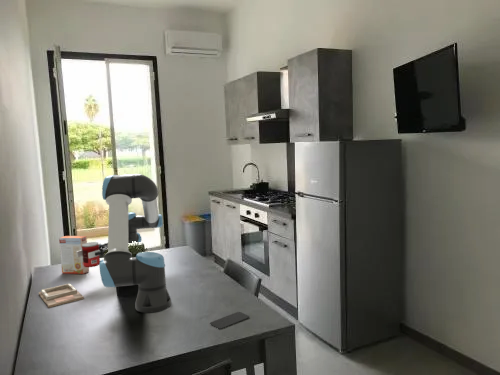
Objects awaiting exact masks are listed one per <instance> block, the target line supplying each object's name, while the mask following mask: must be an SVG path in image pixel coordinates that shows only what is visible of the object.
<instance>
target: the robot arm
mask: <svg viewBox="0 0 500 375" xmlns="http://www.w3.org/2000/svg"><path fill="white" fill-rule="evenodd" d="M101 189H102V191H101V196H102V199H103V200H104V201H105V203H106V204H107V205H108V228H107V229H108V231H107V232H108V233H107V236H108V237H107V242H106V243H104V244H101V243H98V244H99V250H96V251H93V252H90V253H88V258H89V259H90V258H93V257H96V256H103V259H100V263H99V265H98V267H99V273H100V278H101V283H102V285H103V286H104V287H105V288H117V287H127V286H129V287H130V286H135V285H136V286H137V285H138V286H137V287H138V288H137V289H138V291H137V294H136V300H135V303H134V305H135V307H134V308H135V310H136V311H137V312H140V313H144V314H150V313H152V314H153V313H157V312H161V311H162V312H163V311H164V310H167V309H168V308H170V307H171V305H172V299H171V296H170V293H169V291H168V289H167V284H166V282H167V281H166V280H167V279H166V263H165V256H164V255H163V254H161V253H158V252H154V251H142V252H138V253H136V255H135V257H134V256H133V254H132V252H130V250H129V248H128V243H132V241H136V242H142V241H143V240H142V235H141V234H140V233H139V232H137V231H138V230H143V229H144V230H145V229H157V228H162V227H163V222H164V221H163V215H162V214H159V208H158V197H159V189H158V187H157V184H156V182H154V181H153V180H152V179H151V178H150V177H148V176H146V175H144V174H140V173H133V174H132V173H130V174H113V175H107V176H105V177H104V179H103V182H102V188H101ZM133 199H140V200H141V205H142V209H143V215H136V212H131V211H130V212H129V206H130V205H131V204H132V201H133ZM107 248H108V252H107V253H106V254H105V255H104V252H105V250H106V249H107ZM76 255H77V257H80V256H83V254H82V250H80V251H77V252H76Z"/></svg>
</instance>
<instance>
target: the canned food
mask: <svg viewBox="0 0 500 375" xmlns="http://www.w3.org/2000/svg"><path fill="white" fill-rule="evenodd" d="M99 244H100V243H99V242H96V241H93V242H92V241H91V242H87V243H85V244H82V254H83V265H84V267H89V268H96V267H99V263H100V260H101V259H100V256H101V255H99V256H96V257H93V258H90V259H89V258H88V253H90V252H93V251H96V250H99Z"/></svg>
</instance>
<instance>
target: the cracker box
mask: <svg viewBox="0 0 500 375" xmlns="http://www.w3.org/2000/svg"><path fill="white" fill-rule="evenodd" d="M58 240H59V253H60V254H59V255H60V263H61V273H62V274H69V275H84V274H86V273H89V272H90V267H84V265H83V256H80V257H77V255H76V252H77V251H80V250H82V244H85V243H88V239H87V236H86V235H65V236H64V235H63V236H61V237H59V238H58Z"/></svg>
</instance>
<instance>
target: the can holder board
mask: <svg viewBox="0 0 500 375" xmlns="http://www.w3.org/2000/svg"><path fill="white" fill-rule="evenodd" d="M40 290H41V291H38V296H39V298H41V300H42V301H43V303H45V305H46V306H47V308H49V309H50V308H54V307H56V306H57V307H58V306H60V305H65V304H70V303H74V302H78V301H82V300H85V296H83V295H82V293H80V291H78V289H76V288H75V287H74V286H73V285H72V284H71V283H65V284H60V285H56V286H52V287H48V288H42V289H40Z"/></svg>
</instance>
